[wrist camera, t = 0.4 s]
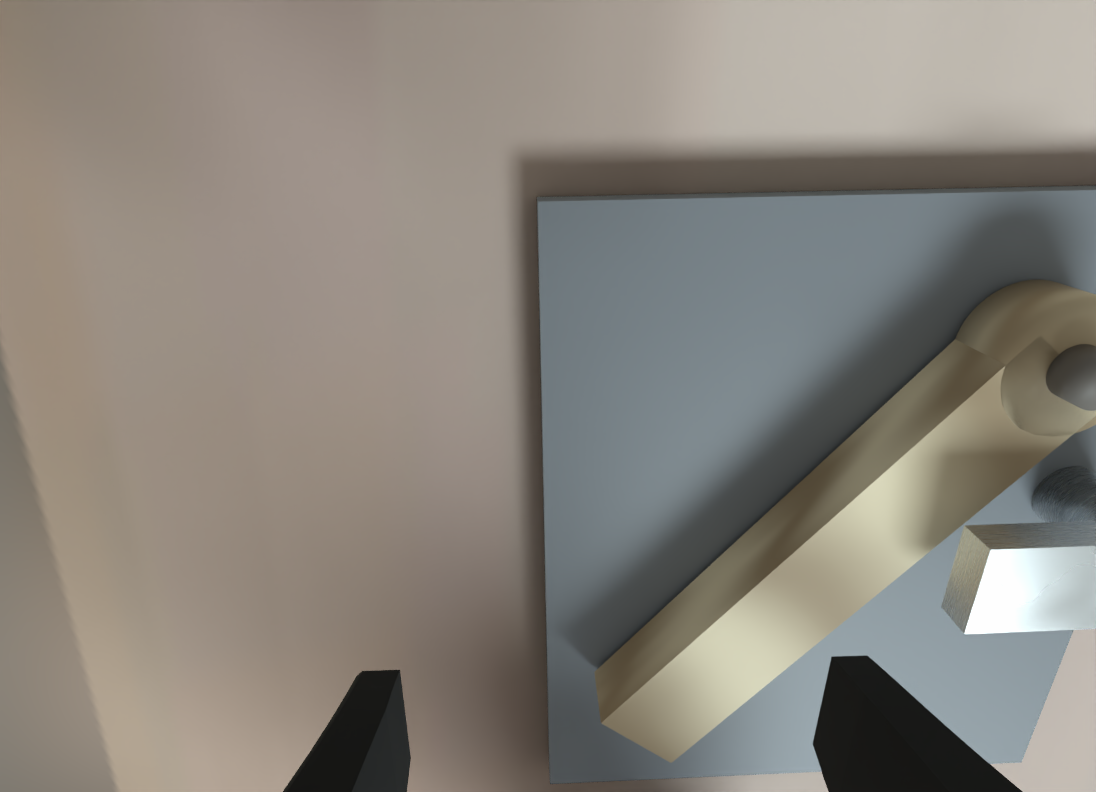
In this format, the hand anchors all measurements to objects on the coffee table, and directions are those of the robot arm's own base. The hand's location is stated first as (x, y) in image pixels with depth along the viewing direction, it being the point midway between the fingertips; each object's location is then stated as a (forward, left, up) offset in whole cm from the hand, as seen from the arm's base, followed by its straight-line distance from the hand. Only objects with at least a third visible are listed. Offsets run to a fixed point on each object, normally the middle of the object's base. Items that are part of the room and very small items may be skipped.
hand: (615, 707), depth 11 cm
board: (-3, -8, -10) cm, 13 cm away
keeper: (-2, -13, -9) cm, 16 cm away
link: (-2, -8, -8) cm, 11 cm away
